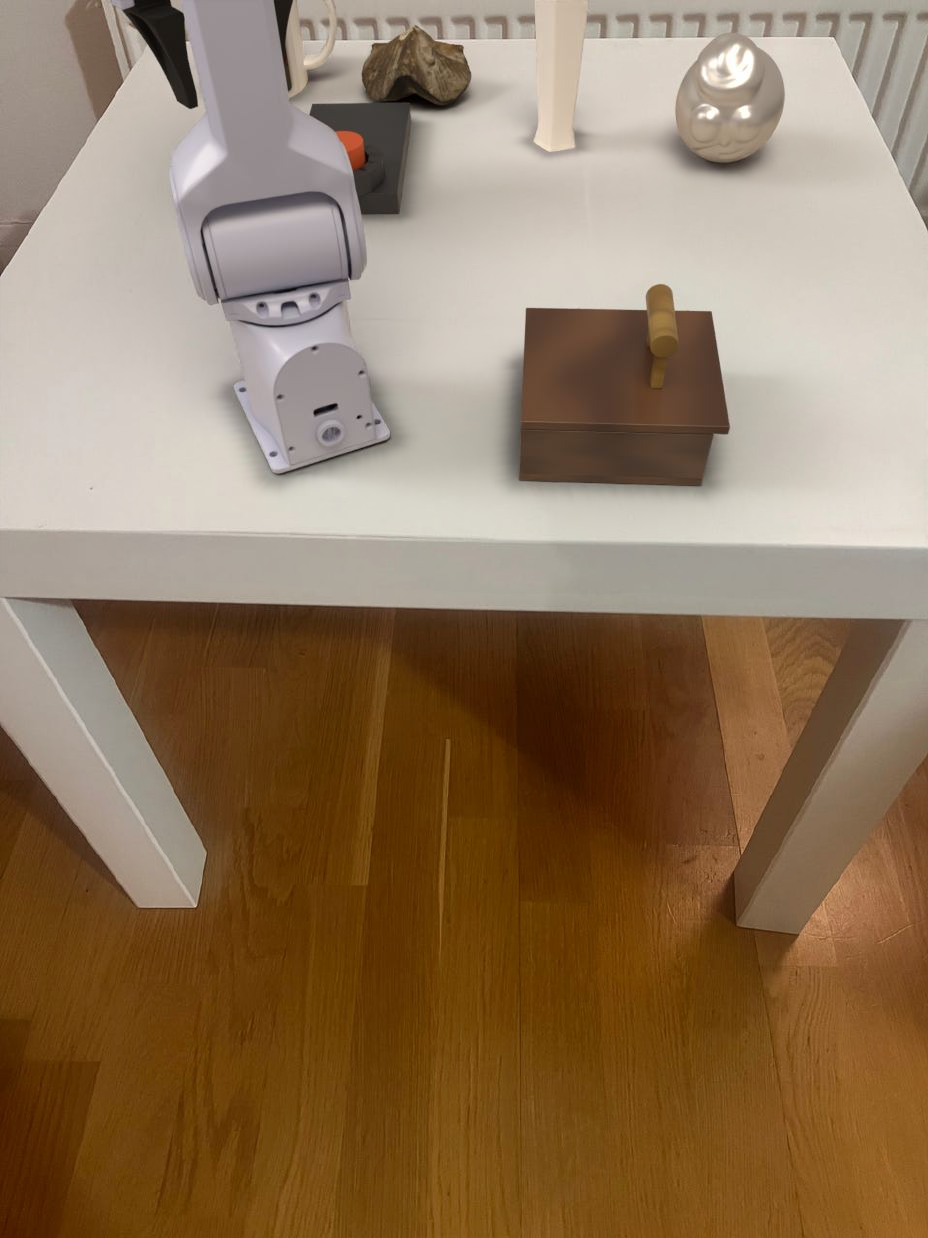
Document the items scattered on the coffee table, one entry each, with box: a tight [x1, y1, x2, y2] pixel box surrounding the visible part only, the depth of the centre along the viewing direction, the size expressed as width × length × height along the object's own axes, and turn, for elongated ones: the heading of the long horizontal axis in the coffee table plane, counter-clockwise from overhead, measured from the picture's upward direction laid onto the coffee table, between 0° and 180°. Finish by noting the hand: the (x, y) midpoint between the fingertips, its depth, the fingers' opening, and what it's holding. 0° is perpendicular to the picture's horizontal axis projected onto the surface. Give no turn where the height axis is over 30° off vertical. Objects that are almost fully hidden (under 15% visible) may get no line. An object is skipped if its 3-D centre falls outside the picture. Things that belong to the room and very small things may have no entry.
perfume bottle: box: [533, 0, 590, 153], centre depth 78 cm, size 5×4×15 cm
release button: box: [335, 131, 365, 170], centre depth 76 cm, size 4×4×2 cm
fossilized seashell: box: [361, 24, 472, 106], centre depth 88 cm, size 8×7×10 cm
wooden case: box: [518, 428, 715, 486], centre depth 60 cm, size 11×11×4 cm
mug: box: [284, 0, 338, 99], centre depth 88 cm, size 10×12×11 cm
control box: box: [308, 102, 412, 216], centre depth 81 cm, size 17×9×4 cm, turn 178°
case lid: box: [520, 283, 731, 435], centre depth 56 cm, size 12×11×4 cm
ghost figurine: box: [674, 32, 786, 164], centre depth 78 cm, size 9×10×10 cm
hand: (231, 87), depth 71 cm, fingers open, 7 cm apart
